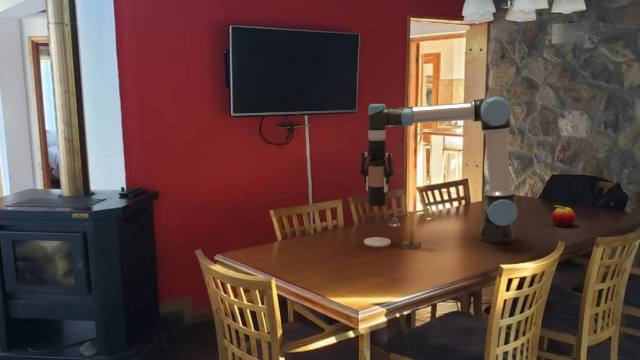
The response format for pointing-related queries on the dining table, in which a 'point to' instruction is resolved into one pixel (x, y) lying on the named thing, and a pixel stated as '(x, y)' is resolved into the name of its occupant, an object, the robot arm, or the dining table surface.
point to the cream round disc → (377, 242)
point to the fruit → (563, 216)
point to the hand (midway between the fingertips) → (377, 191)
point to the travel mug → (376, 183)
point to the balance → (411, 243)
